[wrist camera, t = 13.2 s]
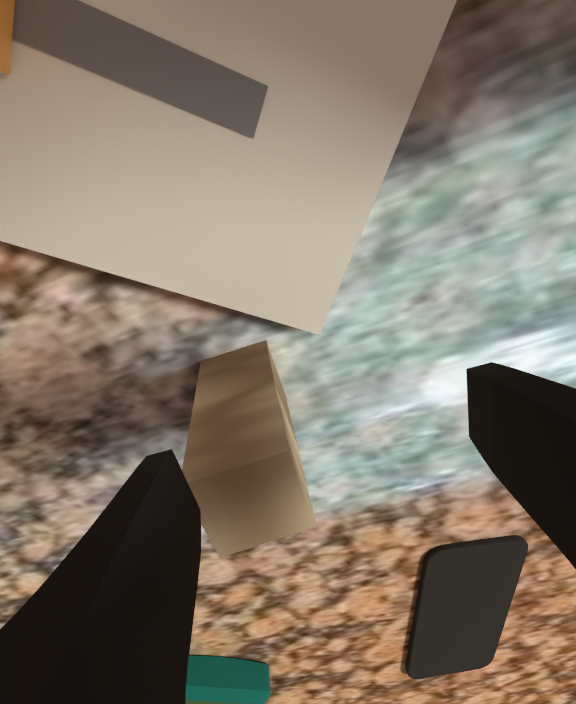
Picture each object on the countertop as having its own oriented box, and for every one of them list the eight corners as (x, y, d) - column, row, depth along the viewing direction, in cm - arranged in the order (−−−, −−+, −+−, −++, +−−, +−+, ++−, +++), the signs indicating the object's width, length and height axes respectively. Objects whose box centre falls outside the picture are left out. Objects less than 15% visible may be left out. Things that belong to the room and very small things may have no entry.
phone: (533, 537, 26) (491, 667, 32) (524, 527, 27) (486, 655, 33) (427, 551, 25) (405, 681, 32) (421, 541, 26) (401, 669, 32)
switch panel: (463, -48, 13) (486, -70, 12) (314, 325, 18) (320, 335, 17) (-321, -539, 8) (-415, -659, 7) (-231, 161, 13) (-277, 160, 12)
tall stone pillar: (266, 340, 18) (288, 450, 11) (285, 395, 20) (316, 526, 12) (200, 361, 18) (179, 485, 11) (224, 415, 20) (219, 557, 12)
